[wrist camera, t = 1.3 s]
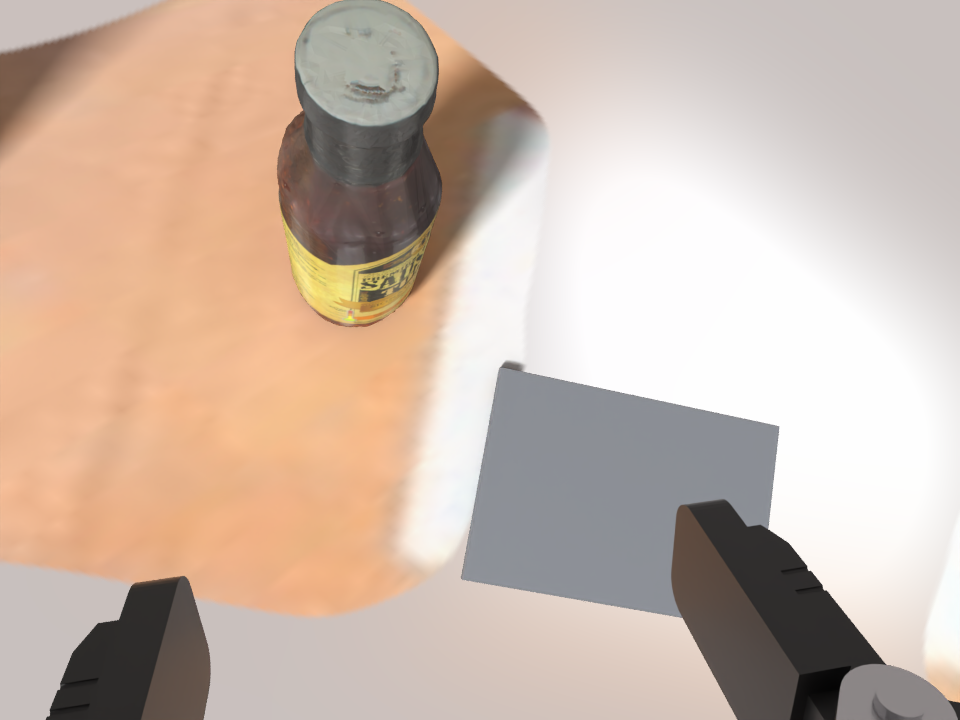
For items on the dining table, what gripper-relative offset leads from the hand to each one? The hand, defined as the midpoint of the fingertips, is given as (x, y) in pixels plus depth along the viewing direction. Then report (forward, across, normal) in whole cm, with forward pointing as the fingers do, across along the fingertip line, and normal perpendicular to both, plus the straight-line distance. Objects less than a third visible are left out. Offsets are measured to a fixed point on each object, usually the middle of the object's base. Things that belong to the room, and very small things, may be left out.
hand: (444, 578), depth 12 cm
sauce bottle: (+29, +2, +5) cm, 30 cm away
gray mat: (+22, -11, +16) cm, 30 cm away
